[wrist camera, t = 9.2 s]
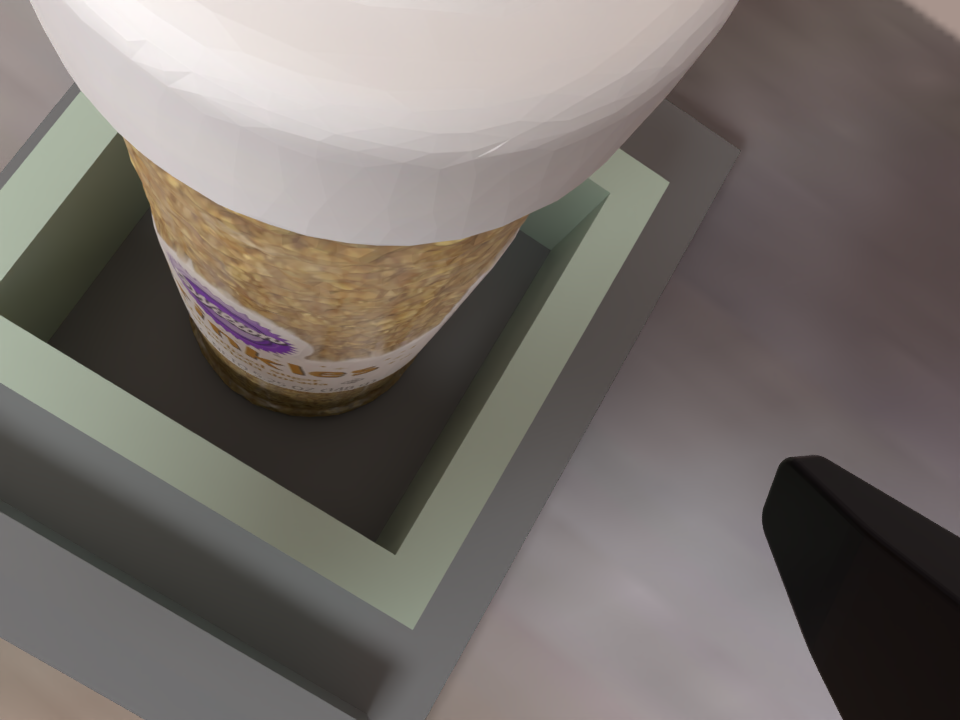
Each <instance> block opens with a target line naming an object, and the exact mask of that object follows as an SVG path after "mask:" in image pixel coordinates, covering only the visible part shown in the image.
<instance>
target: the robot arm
mask: <svg viewBox="0 0 960 720" xmlns="http://www.w3.org/2000/svg"><path fill="white" fill-rule="evenodd" d="M762 525H763V530H764V533H765V536H766V539H767V541H768V544H769V547H770V549H771V552H772V555H773V557H774V560H775V563H776V565H777V568H778V571H779V573H780V576H781V579H782V581H783V584H784V587H785V589H786V592H787V595H788V597H789V600H790V603H791V605H792V608H793V611H794V613H795V616H796V619H797V621H798V624H799V627H800V629H801V632H802V634H803V637H804V639H805V642H806V644H807V647H808V649H809V651H810V654H811V656H812V658H813V660H814V662H815V664H816V666H817V669H818V671H819V673H820V675H821V677H822V679H823V681H824V683H825V685H826V687H827V689H828V691H829V693H830V695H831V697H832V699H833V701H834V703H835V705H836V707H837V709H838V711H839V713H840V715H841V717H842V719H843V720H960V537H958V536H956V535H955V534H953V533H951V532H950V531H948V530H946V529H945V528H943V527H941V526H940V525H938V524H936V523H934V522H933V521H931V520H929V519H928V518H926V517H924V516H923V515H921V514H919V513H918V512H916V511H914V510H912V509H911V508H909V507H907V506H906V505H904V504H902V503H901V502H899V501H897V500H896V499H894V498H892V497H890V496H889V495H887V494H885V493H884V492H882V491H880V490H879V489H877V488H875V487H874V486H872V485H870V484H868V483H867V482H865V481H863V480H862V479H860V478H858V477H857V476H855V475H853V474H852V473H850V472H848V471H847V470H845V469H843V468H841V467H840V466H838V465H836V464H835V463H833V462H831V461H830V460H828V459H826V458H824V457H822V456H818V455H809V456H797V457H789V458H786V459H784V460H783V461H782V462H781V463H780V465H779V467H778V469H777V472H776V475H775V477H774V480H773V483H772V486H771V488H770V491H769V494H768V497H767V499H766V502H765V505H764V508H763V513H762Z"/></svg>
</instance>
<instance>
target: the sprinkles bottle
mask: <svg viewBox="0 0 960 720" xmlns="http://www.w3.org/2000/svg"><path fill="white" fill-rule="evenodd" d="M738 1H739V0H30V2H31V4H32V6H33V8H34V10H35V12H36V15H37V17H38V19H39V21H40V23H41V25H42V27H43V29H44V30H45V32H46V34H47V36H48V38H49V39H50V41H51V43H52V45H53V46H54V48H55V50H56V52H57V54H58V55H59V57H60V59H61V61H62V63H63V64H64V66H65V68H66V69H67V71H68V72H69V74H70V75H71V77H72V78H73V80H74V81H75V83H76V84H77V86H78V87H79V89H80V90H81V91H82V92H83V93H84V95H85V96H86V97H87V98H88V99H89V100H90V102H91V103H92V104H93V105H94V106H95V107H96V108H97V110H98V111H99V112H100V113H101V114H102V115H103V117H104V118H105V119H106V120H107V121H108V122H109V123H110V124H111V125H112V126H113V128H114V129H115V130H116V131H117V132H118V133H119V134H120V135H122V136H123V139H124V141H125V144H126V146H127V149H128V153H129V156H130V159H131V162H132V164H133V166H134V168H135V170H136V172H137V174H138V175H139V178H140V179H141V181H142V184H143V188H144V191H145V193H146V196H147V199H148V201H149V203H150V207H151V212H152V218H153V224H154V228H155V231H156V234H157V237H158V240H159V243H160V245H161V248H162V250H163V253H164V255H165V257H166V260H167V262H168V265H169V267H170V270H171V273H172V275H173V278H174V280H175V283H176V285H177V287H178V290H179V292H180V294H181V297H182V299H183V301H184V303H185V305H186V308H187V310H188V312H189V319H190V324H191V327H192V331H193V333H194V336H195V338H196V340H197V342H198V344H199V346H200V349H201V352H202V354H203V355H204V357H205V358H206V359H207V361H208V362H209V364H210V365H211V366H212V368H213V369H214V370H215V372H216V373H217V374H218V375H219V376H220V378H221V379H222V380H223V382H224V383H225V384H226V385H227V386H228V387H229V388H231V389H232V390H233V391H235V392H236V393H238V394H240V395H241V396H243V397H244V398H246V399H247V400H249V401H250V402H251V403H252V404H255V405H257V406H260V407H263V408H266V409H269V410H272V411H274V412H279V413H283V414H287V415H292V416H305V417H314V416H331V415H339V414H342V413H345V412H348V411H351V410H353V409H355V408H358V407H360V406H363V405H365V404H367V403H369V402H371V401H373V400H375V399H376V398H377V397H379V396H380V395H381V394H383V393H384V392H386V391H388V390H389V389H390V388H391V387H392V386H393V385H394V384H395V383H396V382H397V381H398V380H399V379H400V377H401V376H402V374H403V373H404V372H405V371H406V369H407V368H408V367H409V366H410V365H411V364H412V362H413V361H414V359H415V358H416V356H417V354H418V353H419V352H420V351H421V350H422V349H423V347H424V346H425V345H426V344H427V343H428V342H429V341H430V340H431V339H432V337H433V336H434V335H435V334H436V333H437V332H438V331H439V330H440V328H441V327H442V326H443V325H444V324H445V323H446V322H447V321H448V320H449V318H450V317H451V316H452V315H453V314H454V312H455V311H456V310H457V309H458V308H459V306H460V305H461V304H462V303H463V302H464V301H465V299H466V298H467V297H468V296H469V295H470V294H471V292H472V291H473V290H474V289H475V288H476V287H477V286H478V284H479V283H480V282H481V281H482V280H483V279H484V278H485V276H486V275H487V274H488V273H489V272H490V270H491V269H492V268H493V267H494V266H495V264H496V263H497V261H498V260H499V259H500V257H501V256H502V255H503V253H504V252H505V251H506V249H507V248H508V246H509V245H510V244H511V242H512V241H513V240H514V238H515V237H516V235H517V233H518V231H519V229H520V227H521V225H522V224H523V223H524V222H525V220H526V219H527V217H528V216H529V214H530V213H532V212H534V211H536V210H538V209H541V208H543V207H545V206H547V205H549V204H551V203H553V202H556V201H558V200H559V199H560V198H562V197H563V196H565V195H566V194H568V193H569V192H570V191H572V190H573V189H575V188H576V187H577V186H579V185H580V184H582V183H583V182H584V181H585V180H586V179H587V178H588V177H590V176H591V175H592V174H593V173H594V172H595V171H597V170H598V169H599V168H600V167H601V166H602V165H603V164H605V163H606V162H607V161H608V160H609V158H610V157H611V156H612V155H613V154H614V153H615V152H616V151H617V150H618V149H619V148H620V146H621V145H622V144H623V143H624V142H625V141H626V140H627V139H628V138H629V137H630V136H631V134H632V133H633V132H634V131H635V130H636V129H637V128H638V127H639V126H640V125H641V124H642V123H643V121H644V120H645V119H646V118H647V117H648V116H649V115H650V114H651V113H652V112H653V111H654V109H655V108H656V107H657V106H658V105H659V104H660V103H661V102H662V101H663V100H664V99H665V97H666V96H667V95H668V94H669V93H670V92H671V91H672V89H673V88H674V87H675V86H676V85H677V83H678V82H679V81H680V80H681V78H682V77H683V76H684V75H685V73H686V72H687V71H688V70H689V68H690V67H691V66H692V65H693V63H694V62H695V61H696V60H697V58H698V57H699V56H700V55H701V53H702V52H703V51H704V50H705V49H706V47H707V46H708V45H709V44H710V42H711V41H712V40H713V39H714V37H715V36H716V35H717V34H718V32H719V31H720V29H721V28H722V27H723V25H724V24H725V23H726V21H727V19H728V18H729V16H730V14H731V13H732V11H733V10H734V8H735V6H736V5H737V3H738Z"/></svg>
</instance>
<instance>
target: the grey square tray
mask: <svg viewBox="0 0 960 720" xmlns="http://www.w3.org/2000/svg"><path fill="white" fill-rule="evenodd" d="M740 152H741V150H739V149H738V148H736V147H735V146H733V145H732V144H730V143H729V142H727V141H726V140H725V139H723V138H722V137H720V136H719V135H717V134H716V133H714V132H713V131H711V130H710V129H709V128H707V127H706V126H704V125H703V124H701V123H700V122H698V121H697V120H695V119H694V118H693V117H691V116H690V115H688V114H687V113H685V112H684V111H682V110H681V109H679V108H678V107H677V106H675V105H674V104H672V103H671V102H669V101H668V100H666V99H664V100H663V101H662V102H661V103H660V104H659V105H658V106H657V107H656V108H655V109H654V111H653V112H652V113H651V114H650V115H649V116H648V117H647V118H646V119H645V120H644V121H643V123H642V124H641V125H640V126H639V127H638V128H637V129H636V130H635V131H634V132H633V133H632V134H631V136H630V137H629V138H628V139H627V140H626V141H625V142H624V143H623V144H622V145H621V146H620V148H619V149H618V150H617V151H616V152H615V153H614V154H613V155H612V156H611V157H610V158H609V160H608V161H607V162H606V163H605V164H603V165H602V166H601V167H600V168H599V169H598V170H597V171H595V172H594V173H593V174H592V175H591V176H590V177H588V178H587V179H586V180H585V181H584V182H583V183H582V184H580V185H579V186H577V187H576V188H575V189H573V190H572V191H570V192H569V193H568V194H566V195H565V196H563V197H562V198H560V199H559V200H558V201H556V202H553V203H551V204H549V205H547V206H545V207H543V208H541V209H538V210H536V211H534V212H532V213H530V214H529V216H528V217H527V219H526V220H525V222H524V223H523V224H522V225H521V227H520V229H519V231H518V233H517V235H516V237H515V238H514V240H513V241H512V242H511V244H510V245H509V246H508V248H507V249H506V251H505V252H504V253H503V255H502V256H501V257H500V259H499V260H498V261H497V263H496V264H495V266H494V267H493V268H492V269H491V270H490V272H489V273H488V274H487V275H486V276H485V278H484V279H483V280H482V281H481V282H480V283H479V284H478V286H477V287H476V288H475V289H474V290H473V291H472V292H471V294H470V295H469V296H468V297H467V298H466V299H465V301H464V302H463V303H462V304H461V305H460V306H459V308H458V309H457V310H456V311H455V312H454V314H453V315H452V316H451V317H450V318H449V320H448V321H447V322H446V323H445V324H444V325H443V326H442V327H441V328H440V330H439V331H438V332H437V333H436V334H435V335H434V336H433V337H432V339H431V340H430V341H429V342H428V343H427V344H426V345H425V346H424V347H423V349H422V350H421V351H420V352H419V353H418V354H417V356H416V358H415V359H414V361H413V362H412V364H411V365H410V366H409V367H408V368H407V369H406V371H405V372H404V373H403V374H402V376H401V377H400V379H399V380H398V381H397V382H396V383H395V384H394V385H393V386H392V387H391V388H390V389H389V390H388V391H386V392H384V393H383V394H381V395H380V396H379V397H377V398H376V399H375V400H373V401H371V402H369V403H367V404H365V405H363V406H360V407H358V408H355V409H353V410H351V411H348V412H345V413H342V414H339V415H331V416H314V417H305V416H292V415H287V414H283V413H279V412H274V411H272V410H269V409H266V408H263V407H260V406H257V405H255V404H252V403H251V402H250V401H249V400H247V399H246V398H244V397H243V396H241V395H240V394H238V393H236V392H235V391H233V390H232V389H231V388H229V387H228V386H227V385H226V384H225V383H224V382H223V380H222V379H221V378H220V376H219V375H218V374H217V373H216V372H215V370H214V369H213V368H212V366H211V365H210V364H209V362H208V361H207V359H206V358H205V357H204V355H203V354H202V352H201V349H200V346H199V344H198V342H197V340H196V338H195V336H194V333H193V331H192V327H191V324H190V319H189V312H188V310H187V308H186V305H185V303H184V301H183V299H182V297H181V294H180V292H179V290H178V287H177V285H176V283H175V280H174V278H173V275H172V273H171V270H170V267H169V265H168V262H167V260H166V257H165V255H164V253H163V250H162V248H161V245H160V243H159V240H158V237H157V234H156V231H155V228H154V224H153V218H152V212H151V207H150V203H149V201H148V199H147V196H146V193H145V191H144V188H143V184H142V181H141V179H140V178H139V175H138V174H137V172H136V170H135V168H134V166H133V164H132V162H131V159H130V156H129V153H128V149H127V146H126V144H125V141H124V139H123V136H122V135H120V134H119V133H118V132H117V131H116V130H115V129H114V128H113V126H112V125H111V124H110V123H109V122H108V121H107V120H106V119H105V118H104V117H103V115H102V114H101V113H100V112H99V111H98V110H97V108H96V107H95V106H94V105H93V104H92V103H91V102H90V100H89V99H88V98H87V97H86V96H85V95H84V93H83V92H82V91H81V90H80V89H79V87H78V86H77V84H76V83H75V82H74V84H73V85H72V86H71V87H70V89H69V90H68V91H67V92H66V93H65V95H64V96H63V97H62V98H61V100H60V101H59V102H58V103H57V104H56V106H55V107H54V108H53V109H52V111H51V112H50V113H49V114H48V115H47V117H46V118H45V119H44V120H43V122H42V123H41V124H40V125H39V126H38V128H37V129H36V130H35V131H34V133H33V134H32V135H31V136H30V137H29V139H28V140H27V141H26V142H25V144H24V145H23V146H22V147H21V149H20V150H19V151H18V152H17V153H16V155H15V156H14V157H13V158H12V160H11V161H10V162H9V163H8V164H7V166H6V167H5V168H4V169H3V171H2V172H1V173H0V637H1V638H2V639H4V640H6V641H8V642H9V643H11V644H13V645H15V646H16V647H18V648H20V649H22V650H23V651H25V652H27V653H29V654H30V655H32V656H34V657H36V658H37V659H39V660H41V661H43V662H44V663H46V664H48V665H50V666H52V667H53V668H55V669H57V670H59V671H60V672H62V673H64V674H66V675H67V676H69V677H71V678H73V679H74V680H76V681H78V682H80V683H81V684H83V685H85V686H87V687H88V688H90V689H92V690H94V691H95V692H97V693H99V694H101V695H102V696H104V697H106V698H108V699H110V700H111V701H113V702H115V703H117V704H118V705H120V706H122V707H124V708H125V709H127V710H129V711H131V712H132V713H134V714H136V715H138V716H139V717H141V718H143V719H145V720H425V719H426V717H427V715H428V714H429V712H430V710H431V708H432V706H433V705H434V703H435V701H436V699H437V697H438V696H439V694H440V692H441V690H442V688H443V687H444V685H445V683H446V681H447V679H448V678H449V676H450V674H451V672H452V670H453V669H454V667H455V665H456V663H457V661H458V660H459V658H460V656H461V654H462V652H463V651H464V649H465V647H466V645H467V643H468V642H469V640H470V638H471V636H472V634H473V633H474V631H475V629H476V627H477V625H478V624H479V622H480V620H481V618H482V616H483V615H484V613H485V611H486V609H487V607H488V606H489V604H490V602H491V600H492V598H493V597H494V595H495V593H496V591H497V589H498V588H499V586H500V584H501V582H502V580H503V579H504V577H505V575H506V573H507V571H508V570H509V568H510V566H511V564H512V562H513V561H514V559H515V557H516V555H517V553H518V552H519V550H520V548H521V546H522V544H523V543H524V541H525V539H526V537H527V535H528V534H529V532H530V530H531V528H532V526H533V525H534V523H535V521H536V519H537V517H538V516H539V514H540V512H541V510H542V508H543V507H544V505H545V503H546V501H547V499H548V498H549V496H550V494H551V492H552V490H553V489H554V487H555V485H556V483H557V481H558V480H559V478H560V476H561V474H562V472H563V471H564V469H565V467H566V465H567V463H568V462H569V460H570V458H571V456H572V454H573V453H574V451H575V449H576V447H577V445H578V444H579V442H580V440H581V438H582V436H583V435H584V433H585V431H586V429H587V427H588V426H589V424H590V422H591V420H592V418H593V417H594V415H595V413H596V411H597V409H598V408H599V406H600V404H601V402H602V400H603V399H604V397H605V395H606V393H607V391H608V390H609V388H610V386H611V384H612V382H613V381H614V379H615V377H616V375H617V373H618V371H619V370H620V368H621V366H622V364H623V362H624V361H625V359H626V357H627V355H628V353H629V352H630V350H631V348H632V346H633V344H634V343H635V341H636V339H637V337H638V335H639V334H640V332H641V330H642V328H643V326H644V325H645V323H646V321H647V319H648V317H649V316H650V314H651V312H652V310H653V308H654V307H655V305H656V303H657V301H658V299H659V298H660V296H661V294H662V292H663V290H664V289H665V287H666V285H667V283H668V281H669V280H670V278H671V276H672V274H673V272H674V271H675V269H676V267H677V265H678V263H679V262H680V260H681V258H682V256H683V254H684V253H685V251H686V249H687V247H688V245H689V244H690V242H691V240H692V238H693V236H694V235H695V233H696V231H697V229H698V227H699V226H700V224H701V222H702V220H703V218H704V217H705V215H706V213H707V211H708V209H709V208H710V206H711V204H712V202H713V200H714V199H715V197H716V195H717V193H718V191H719V190H720V188H721V186H722V184H723V182H724V181H725V179H726V177H727V175H728V173H729V172H730V170H731V168H732V166H733V164H734V163H735V161H736V159H737V157H738V155H739V154H740Z"/></svg>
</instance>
